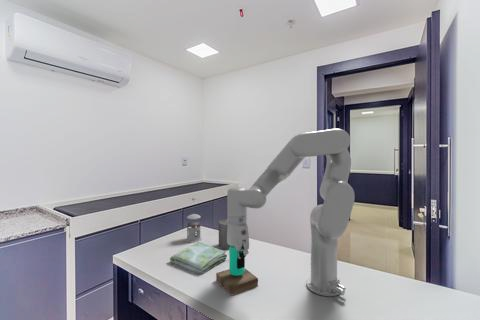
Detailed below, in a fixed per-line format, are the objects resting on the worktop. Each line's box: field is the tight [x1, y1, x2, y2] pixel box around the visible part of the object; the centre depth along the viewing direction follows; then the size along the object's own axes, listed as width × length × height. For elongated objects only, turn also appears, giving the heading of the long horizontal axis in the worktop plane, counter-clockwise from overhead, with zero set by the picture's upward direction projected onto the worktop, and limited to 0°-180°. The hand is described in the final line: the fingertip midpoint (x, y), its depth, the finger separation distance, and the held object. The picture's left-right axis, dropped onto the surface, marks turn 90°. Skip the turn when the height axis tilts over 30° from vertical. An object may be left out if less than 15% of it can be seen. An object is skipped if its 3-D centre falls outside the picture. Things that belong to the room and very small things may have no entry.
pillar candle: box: [218, 218, 229, 250], centre depth 131 cm, size 10×10×15 cm
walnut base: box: [215, 268, 259, 296], centre depth 94 cm, size 12×12×3 cm
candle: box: [228, 246, 246, 276], centre depth 94 cm, size 6×6×12 cm
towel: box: [169, 241, 228, 275], centre depth 113 cm, size 18×21×5 cm
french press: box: [185, 197, 203, 244], centre depth 141 cm, size 10×12×25 cm
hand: (237, 264), depth 94 cm, fingers closed on candle, 4 cm apart
